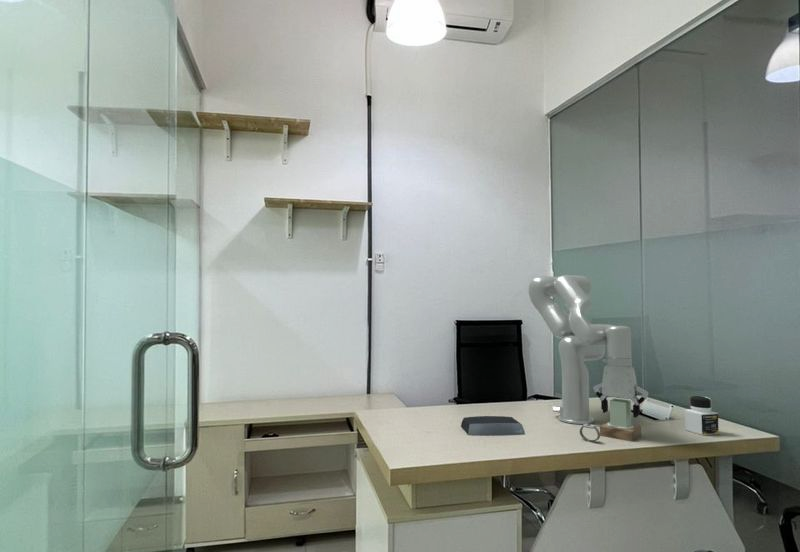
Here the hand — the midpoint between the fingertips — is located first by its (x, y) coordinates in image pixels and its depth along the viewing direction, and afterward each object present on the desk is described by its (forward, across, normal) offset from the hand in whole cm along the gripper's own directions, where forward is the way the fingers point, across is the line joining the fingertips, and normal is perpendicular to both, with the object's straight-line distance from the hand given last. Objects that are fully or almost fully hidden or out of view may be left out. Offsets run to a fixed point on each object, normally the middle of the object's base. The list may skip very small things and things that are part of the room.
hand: (620, 414), depth 158 cm
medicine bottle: (+7, +19, +24) cm, 31 cm away
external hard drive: (+7, -35, -24) cm, 43 cm away
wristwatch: (+7, -5, -14) cm, 16 cm away
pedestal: (+7, 0, 0) cm, 7 cm away
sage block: (+3, 0, 0) cm, 3 cm away
